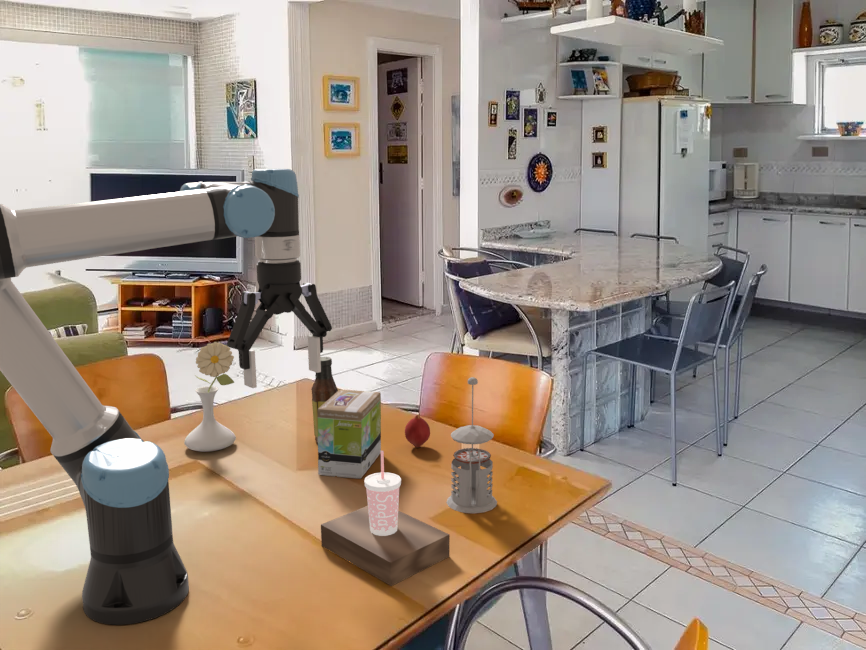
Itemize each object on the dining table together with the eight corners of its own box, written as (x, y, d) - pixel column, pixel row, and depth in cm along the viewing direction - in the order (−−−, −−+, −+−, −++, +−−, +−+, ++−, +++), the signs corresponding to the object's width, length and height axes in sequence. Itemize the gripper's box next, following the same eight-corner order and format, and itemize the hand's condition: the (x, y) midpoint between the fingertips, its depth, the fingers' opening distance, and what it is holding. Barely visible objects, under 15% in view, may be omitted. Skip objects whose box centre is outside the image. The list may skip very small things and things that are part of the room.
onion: (400, 445, 183) (400, 411, 181) (423, 441, 185) (423, 408, 183) (410, 453, 177) (410, 419, 176) (434, 449, 180) (434, 415, 178)
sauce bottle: (346, 439, 186) (344, 357, 182) (329, 447, 181) (326, 363, 177) (325, 434, 190) (322, 353, 186) (307, 442, 185) (304, 359, 180)
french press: (494, 490, 158) (496, 369, 152) (501, 517, 147) (503, 387, 141) (445, 491, 158) (445, 370, 152) (448, 518, 146) (448, 388, 141)
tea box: (363, 480, 164) (361, 411, 160) (317, 476, 165) (314, 408, 162) (382, 453, 178) (381, 390, 175) (339, 450, 180) (337, 387, 177)
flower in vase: (174, 453, 178) (166, 345, 173) (203, 436, 189) (195, 333, 183) (225, 459, 174) (218, 349, 169) (251, 441, 185) (246, 337, 180)
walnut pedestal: (391, 585, 124) (390, 562, 123) (321, 546, 136) (320, 524, 135) (449, 556, 132) (449, 534, 132) (379, 521, 145) (378, 501, 144)
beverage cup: (360, 535, 131) (358, 456, 128) (372, 519, 137) (370, 442, 134) (396, 539, 130) (394, 459, 127) (406, 523, 136) (405, 446, 133)
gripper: (225, 269, 125) (232, 398, 130) (348, 255, 142) (351, 368, 147) (201, 265, 131) (209, 388, 135) (323, 251, 148) (327, 361, 152)
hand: (283, 378), depth 141 cm, fingers open, 13 cm apart
